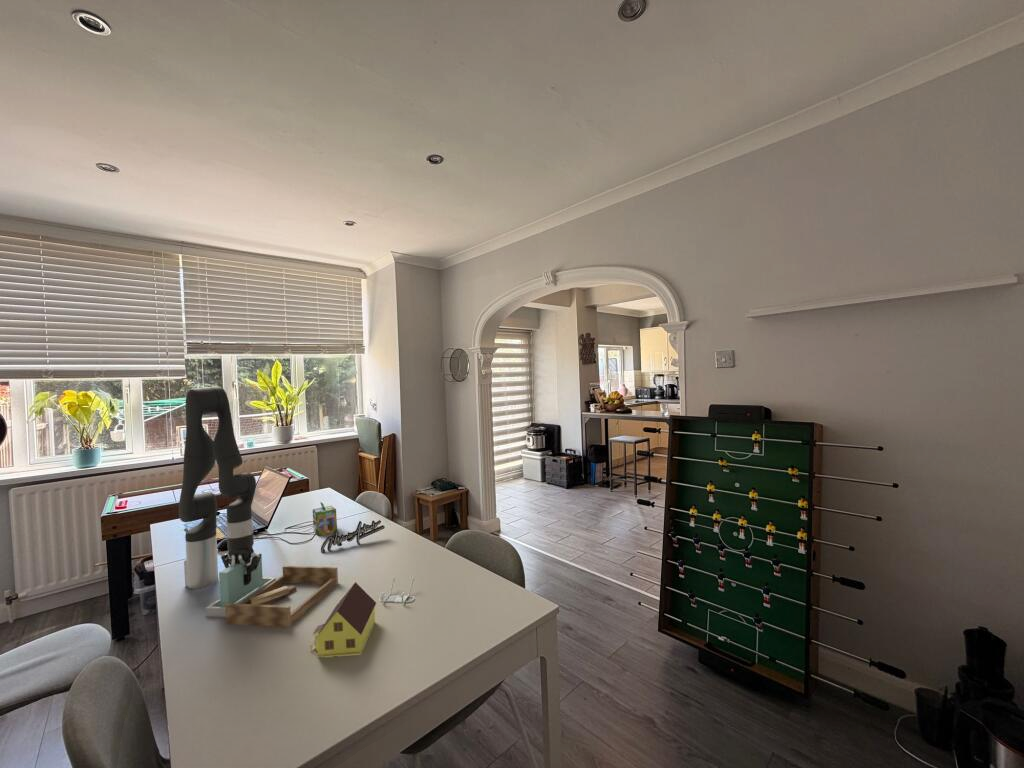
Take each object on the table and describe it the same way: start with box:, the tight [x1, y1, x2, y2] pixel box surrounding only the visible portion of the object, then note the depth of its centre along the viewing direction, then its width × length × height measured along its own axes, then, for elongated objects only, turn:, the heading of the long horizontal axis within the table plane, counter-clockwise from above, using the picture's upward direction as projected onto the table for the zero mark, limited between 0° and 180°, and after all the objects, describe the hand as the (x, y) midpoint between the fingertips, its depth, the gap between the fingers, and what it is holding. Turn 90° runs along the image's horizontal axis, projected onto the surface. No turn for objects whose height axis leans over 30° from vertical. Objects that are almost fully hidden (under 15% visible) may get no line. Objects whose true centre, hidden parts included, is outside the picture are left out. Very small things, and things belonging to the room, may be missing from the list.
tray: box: [205, 577, 277, 618], centre depth 143 cm, size 9×21×3 cm, turn 172°
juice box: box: [312, 501, 338, 537], centre depth 206 cm, size 9×9×15 cm
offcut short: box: [250, 585, 289, 605], centre depth 140 cm, size 2×11×2 cm, turn 137°
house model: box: [309, 581, 377, 658], centre depth 119 cm, size 18×20×13 cm
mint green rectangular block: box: [218, 552, 263, 607], centre depth 142 cm, size 3×15×11 cm, turn 172°
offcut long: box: [259, 585, 297, 605], centre depth 140 cm, size 2×18×2 cm, turn 156°
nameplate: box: [320, 519, 385, 553], centre depth 188 cm, size 28×2×10 cm, turn 122°
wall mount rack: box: [378, 577, 416, 604], centre depth 141 cm, size 12×11×4 cm
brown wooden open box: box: [225, 565, 339, 628], centre depth 141 cm, size 21×27×6 cm
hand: (242, 583), depth 143 cm, fingers closed on mint green rectangular block, 3 cm apart
